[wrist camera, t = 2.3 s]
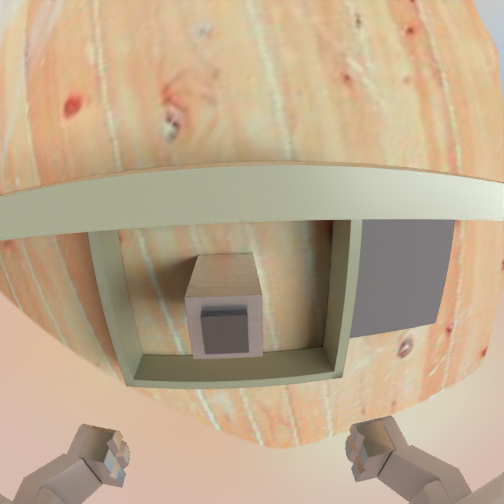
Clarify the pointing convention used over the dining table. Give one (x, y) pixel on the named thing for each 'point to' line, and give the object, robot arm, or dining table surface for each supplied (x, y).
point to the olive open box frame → (237, 211)
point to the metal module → (225, 307)
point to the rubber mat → (400, 274)
